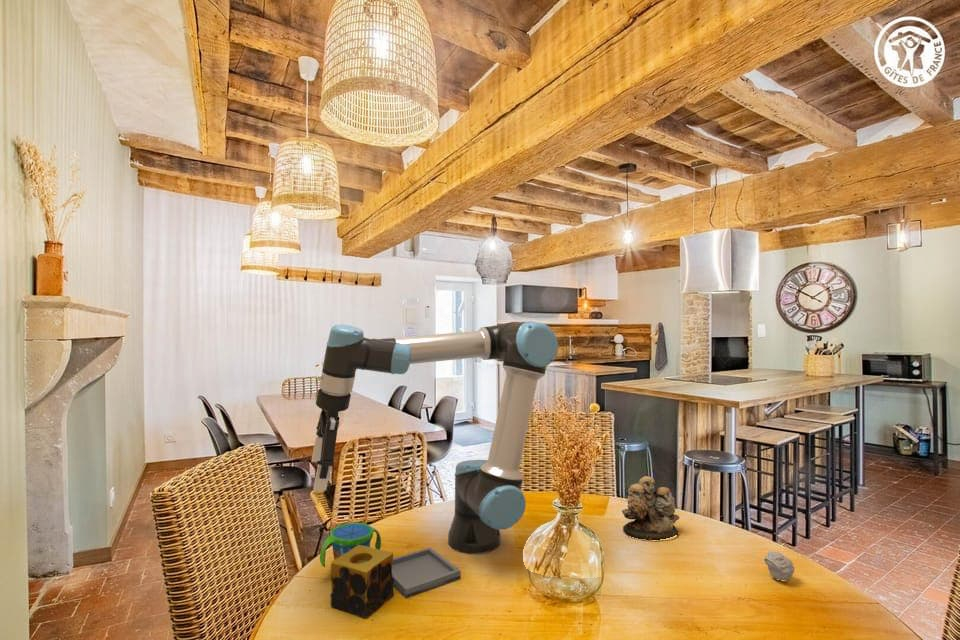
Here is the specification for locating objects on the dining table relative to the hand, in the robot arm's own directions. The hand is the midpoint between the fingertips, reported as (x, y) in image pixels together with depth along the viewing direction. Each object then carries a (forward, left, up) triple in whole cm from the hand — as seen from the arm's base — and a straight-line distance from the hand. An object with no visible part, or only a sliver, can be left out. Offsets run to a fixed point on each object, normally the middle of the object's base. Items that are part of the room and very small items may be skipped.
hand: (318, 475), depth 114 cm
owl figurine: (-92, +28, -26) cm, 100 cm away
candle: (-6, +13, -26) cm, 30 cm away
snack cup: (-9, -1, -26) cm, 28 cm away
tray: (-22, +10, -26) cm, 36 cm away
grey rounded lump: (-95, +63, -26) cm, 117 cm away
